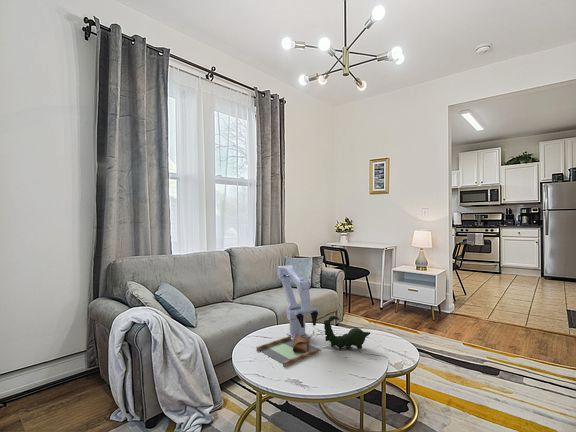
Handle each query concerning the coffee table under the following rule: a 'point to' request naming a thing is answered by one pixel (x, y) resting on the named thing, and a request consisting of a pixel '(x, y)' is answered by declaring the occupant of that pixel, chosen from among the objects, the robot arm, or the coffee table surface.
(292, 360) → the lane rails
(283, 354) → the zone mats
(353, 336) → the toy figurine
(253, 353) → the coffee table surface
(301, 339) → the sunglasses case
